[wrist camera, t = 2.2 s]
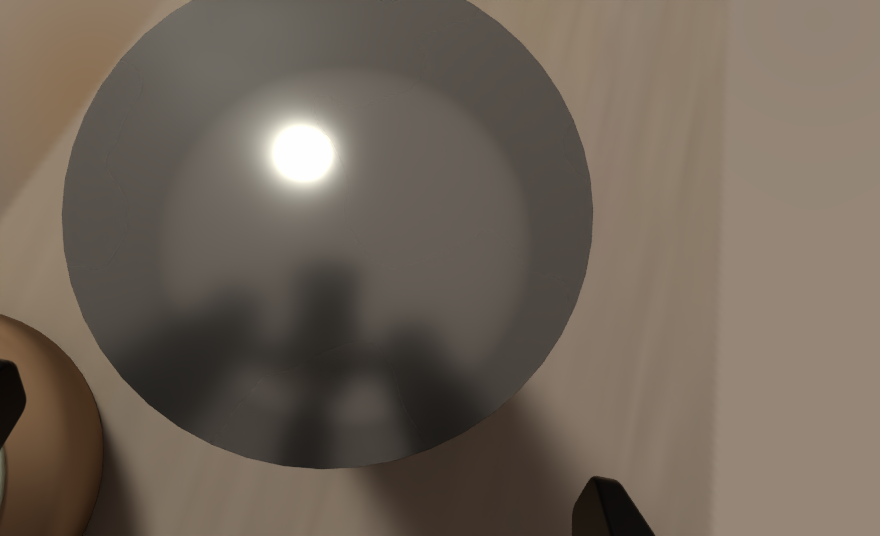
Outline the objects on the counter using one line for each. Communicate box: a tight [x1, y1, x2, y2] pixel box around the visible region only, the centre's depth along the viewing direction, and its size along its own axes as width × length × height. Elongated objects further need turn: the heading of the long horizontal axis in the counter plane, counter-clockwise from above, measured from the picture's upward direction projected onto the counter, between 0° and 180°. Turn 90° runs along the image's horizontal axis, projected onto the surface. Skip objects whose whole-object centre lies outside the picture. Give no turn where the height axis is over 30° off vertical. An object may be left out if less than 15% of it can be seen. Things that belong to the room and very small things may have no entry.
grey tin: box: [62, 0, 593, 469], centre depth 13 cm, size 6×6×13 cm
